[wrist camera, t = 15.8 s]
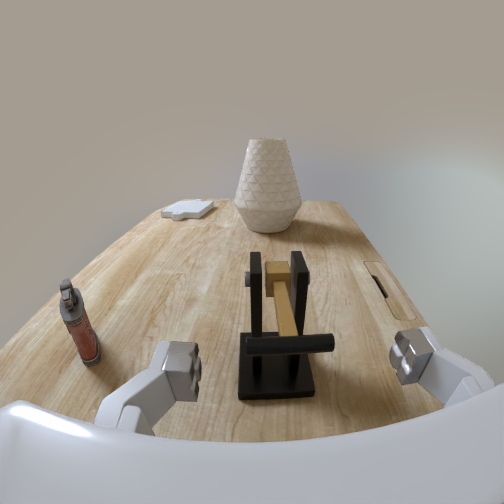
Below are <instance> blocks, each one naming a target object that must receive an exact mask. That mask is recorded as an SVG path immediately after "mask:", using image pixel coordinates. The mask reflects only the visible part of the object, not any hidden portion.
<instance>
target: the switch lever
mask: <svg viewBox="0 0 504 504" xmlns="http://www.w3.org/2000/svg"><path fill="white" fill-rule="evenodd" d="M265 289H266V297H274V304H275V311H276V318H277V324H278V332H279V336H272V337H246V355H247V356H265V355H291V354H307V353H321V352H332V351H333V350H334V346H335V340H334V336H333V334H332V333H329V334H314V335H298V332H297V328H296V324H295V319H294V315H293V311H292V307H291V303H290V299H289V296H290V292H291V271H290V267H289V264H288V261H273V262H265Z"/></svg>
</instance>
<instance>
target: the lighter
mask: <svg viewBox="0 0 504 504" xmlns="http://www.w3.org/2000/svg"><path fill="white" fill-rule="evenodd" d="M60 291H61V294H62V296H61V299H60V313H61V315H62V318H63V321H64V323H65V324H66V327H67V329H68V331H69V333H70V334H71V335H72V337H73V339H74V342H75V344H76V346H77V349H78V353H79V355H80V357H81V359H82V361H83V363H84V364H85V365H86V366H93V365H95V364H97V363H98V362H99V361H100V358H101V350H100V344H99V341H98V338H97V336H96V333H95V331H94V330H93V328H92V327H91V324H90V322H89V319H88V316H87V314H86V311H85V308H84V302H83V299H82V296H81V293H80V291H79V289H77V288H73V286H72V284H71V282H70V279H69V278H67V279H64V280H62V284H61V285H60Z"/></svg>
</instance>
